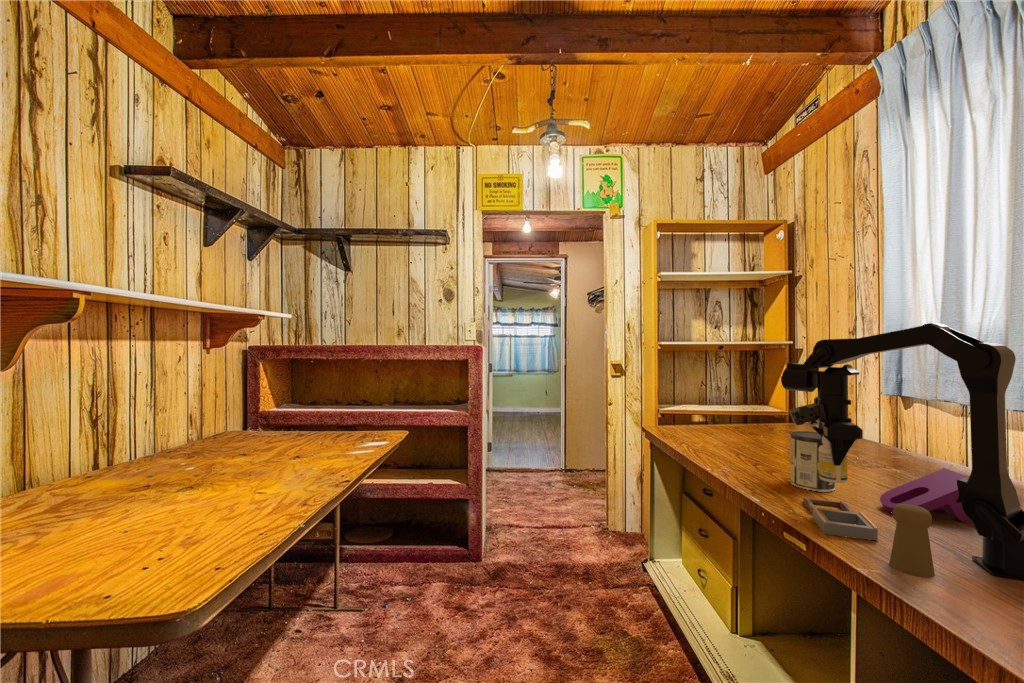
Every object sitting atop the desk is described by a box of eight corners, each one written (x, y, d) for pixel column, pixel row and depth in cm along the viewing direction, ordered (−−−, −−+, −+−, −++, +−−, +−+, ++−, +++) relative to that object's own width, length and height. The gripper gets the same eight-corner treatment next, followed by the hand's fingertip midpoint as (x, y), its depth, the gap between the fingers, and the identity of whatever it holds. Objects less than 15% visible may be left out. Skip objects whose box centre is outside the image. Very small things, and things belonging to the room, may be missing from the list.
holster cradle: (854, 518, 101) (854, 511, 101) (811, 513, 104) (811, 506, 104) (843, 506, 108) (843, 500, 108) (803, 501, 111) (803, 495, 111)
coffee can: (830, 483, 125) (831, 432, 125) (839, 494, 116) (839, 440, 116) (787, 478, 130) (788, 429, 130) (792, 489, 121) (792, 436, 120)
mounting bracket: (917, 547, 100) (998, 515, 98) (899, 512, 100) (980, 480, 98) (886, 529, 109) (960, 500, 107) (870, 497, 110) (944, 468, 108)
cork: (912, 559, 82) (912, 499, 82) (945, 577, 76) (945, 512, 76) (880, 560, 82) (880, 500, 82) (910, 577, 76) (911, 513, 76)
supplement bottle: (841, 477, 105) (841, 435, 105) (851, 484, 100) (851, 440, 100) (814, 475, 106) (814, 434, 106) (823, 482, 101) (823, 439, 101)
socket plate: (877, 541, 90) (877, 527, 90) (824, 534, 93) (824, 521, 93) (861, 523, 98) (861, 511, 98) (812, 517, 101) (812, 505, 101)
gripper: (784, 388, 115) (784, 450, 115) (800, 397, 97) (801, 469, 97) (836, 390, 110) (837, 453, 110) (863, 399, 93) (863, 474, 93)
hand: (833, 462), depth 103 cm, fingers closed on supplement bottle, 5 cm apart
